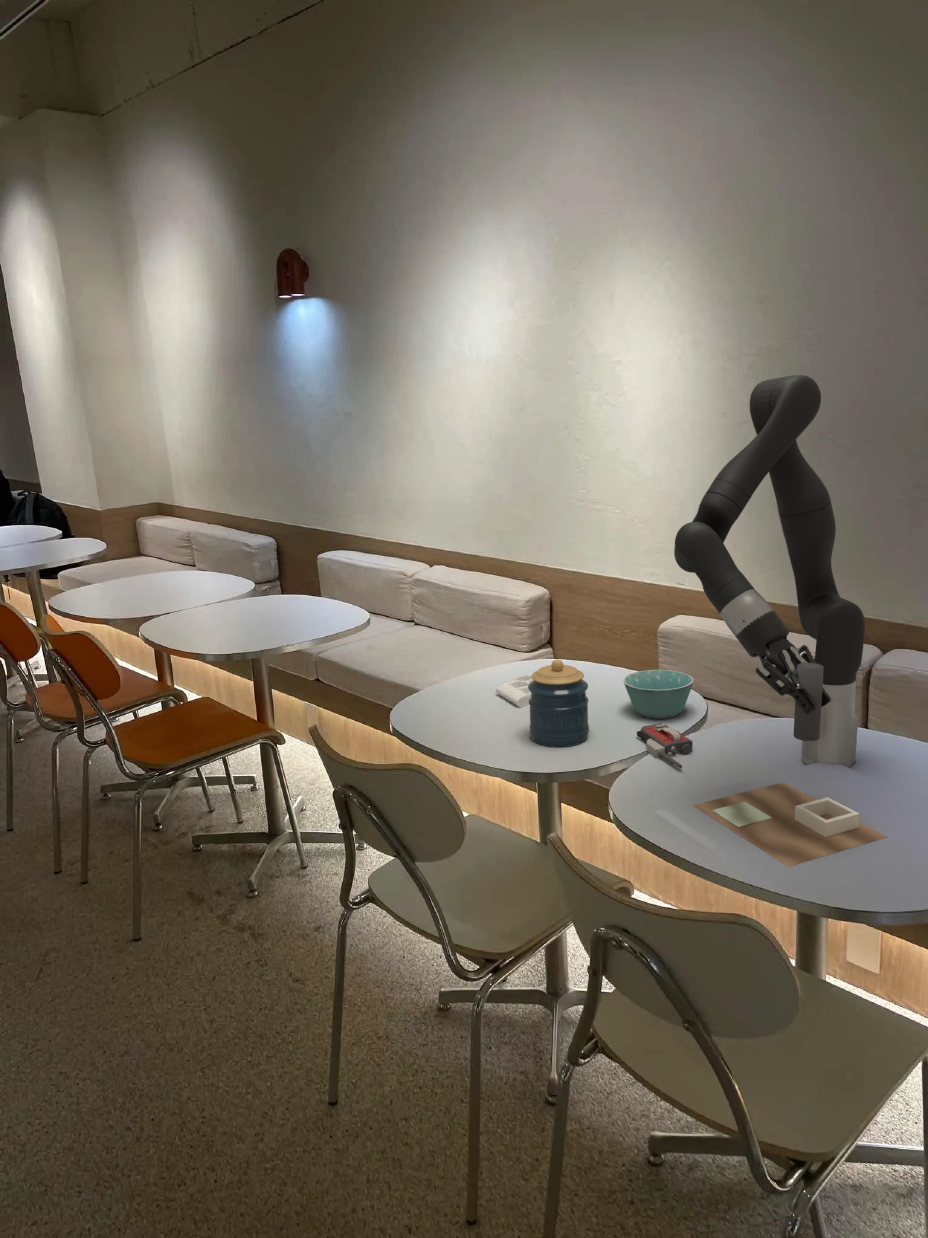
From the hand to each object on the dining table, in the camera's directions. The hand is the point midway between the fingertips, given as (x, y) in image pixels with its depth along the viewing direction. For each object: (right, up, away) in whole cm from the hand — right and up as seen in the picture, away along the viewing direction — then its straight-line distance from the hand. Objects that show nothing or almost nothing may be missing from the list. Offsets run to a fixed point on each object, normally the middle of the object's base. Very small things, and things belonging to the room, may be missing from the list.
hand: (819, 707), depth 144 cm
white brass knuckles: (-40, -6, +81) cm, 90 cm away
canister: (-36, -12, +53) cm, 66 cm away
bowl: (-12, -8, +65) cm, 66 cm away
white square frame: (+3, -20, +5) cm, 21 cm away
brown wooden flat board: (-3, -21, +7) cm, 23 cm away
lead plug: (-1, -5, +3) cm, 6 cm away
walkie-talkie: (-14, -14, +43) cm, 47 cm away
